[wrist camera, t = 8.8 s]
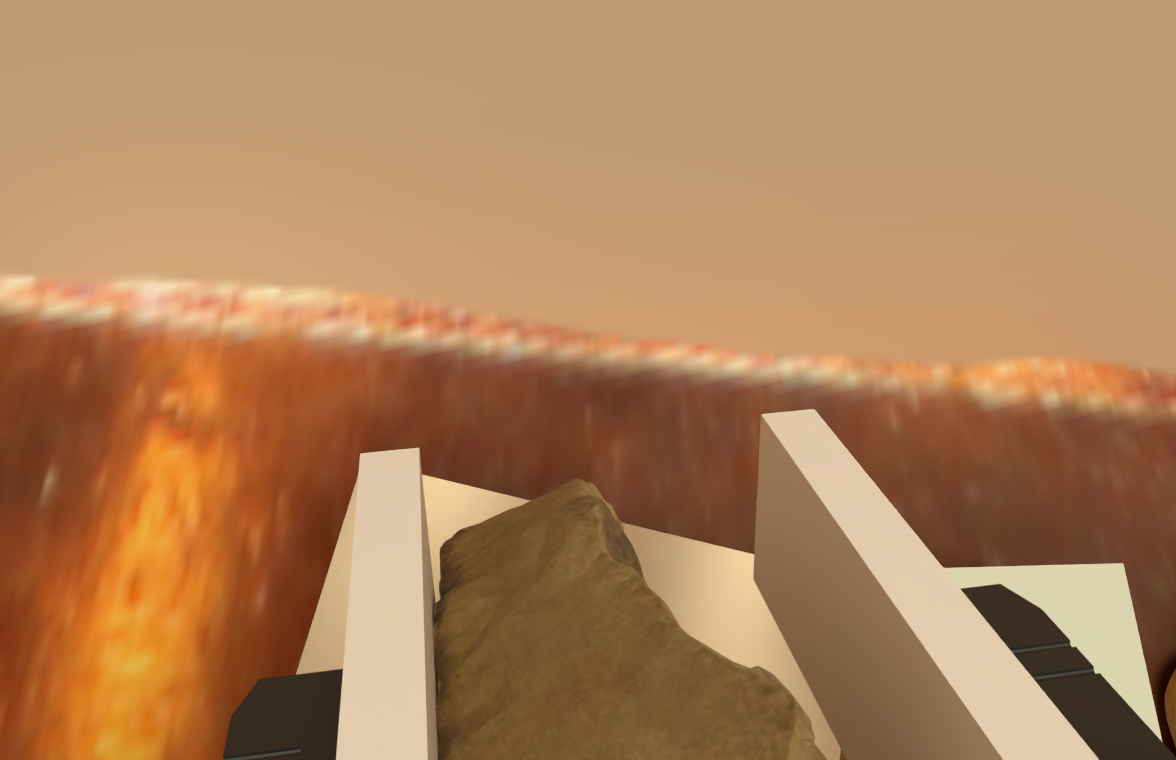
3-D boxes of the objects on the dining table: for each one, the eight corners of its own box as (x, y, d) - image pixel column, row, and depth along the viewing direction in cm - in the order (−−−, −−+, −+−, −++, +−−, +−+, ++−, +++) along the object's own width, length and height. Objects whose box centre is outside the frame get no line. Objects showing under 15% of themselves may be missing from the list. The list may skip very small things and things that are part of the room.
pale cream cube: (885, 783, 28) (965, 786, 24) (861, 599, 30) (931, 568, 26) (1058, 775, 29) (1169, 776, 24) (1025, 594, 31) (1123, 563, 26)
